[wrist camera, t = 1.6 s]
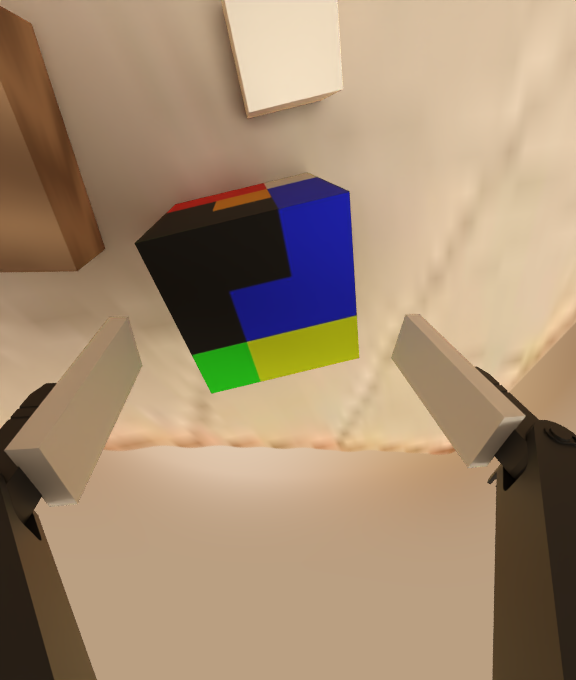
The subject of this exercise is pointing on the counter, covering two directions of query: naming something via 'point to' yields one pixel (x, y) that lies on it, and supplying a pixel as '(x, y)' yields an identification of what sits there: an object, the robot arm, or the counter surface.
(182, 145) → the counter surface
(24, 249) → the walnut block
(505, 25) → the counter surface
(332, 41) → the beige wooden block
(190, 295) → the puzzle toy
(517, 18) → the counter surface
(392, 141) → the counter surface
